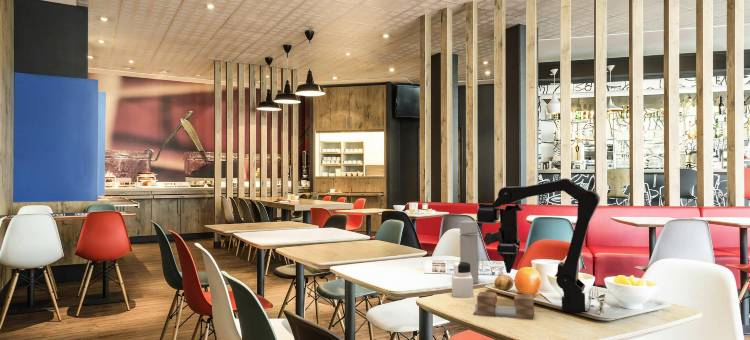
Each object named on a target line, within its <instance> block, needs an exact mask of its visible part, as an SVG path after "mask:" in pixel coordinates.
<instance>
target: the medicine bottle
mask: <svg viewBox="0 0 750 340" xmlns="http://www.w3.org/2000/svg"><path fill="white" fill-rule="evenodd" d="M451 275H452V276H451V288H452V289H451V291H452V293H451V294H452V296H453V298H473V297H474V284H473V278H472V275H471V273H470V264H469V263H467V262H460V261H456V262H455V263H453V273H452V274H451Z"/></svg>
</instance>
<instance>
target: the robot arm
mask: <svg viewBox="0 0 750 340" xmlns="http://www.w3.org/2000/svg"><path fill="white" fill-rule="evenodd" d="M557 192H564V193H566V194H567V195H568V196H570V197H572V199H574V200H576V201H577V212H576V213H577V215H576V216H577V218H576V222H575V226H574V229H573V232H572V236H571V240H570V244H569V246H568V247H569V248H568V250H567V255H566V258H565V261H564V262H563V261H560V262H559V263H558V264H557V271H556V274H555V275H554V277H555V278H556V279H555V280H556V284H557V286H558V287H559V288H560V289H562V292H563V296H561V311H562V312H568V313H571V314H572V313H573V314H580V313H581V312H585V313H586V293H585V292H584V291H585V288H586V285H585V283H584V282H583V281H581V279H579V273H580V272H579V271H580V268H579V267H580V266H579V265H580V263H579V261H580V258H581V254H582V252H583V251H582V250H583V247H584V244H585V242H586V241H585V239H586V237H587V233H588V230H589V227H590V222H591V220H592V217H593V216H594V214H595V212H596V210H597V208H598V206H599V204H600V201H601V197H600V195H599V194H598V192H596V191H594V190H587V189H586V188H584V187H583V186H580V185H578V184H577V183H575V182H574V181H572V180H571V179H570V178H561V179H558V180H554V181H548V182H543V183H537V184H532V185H527V186H526V185H525V186H523V185H522V186H518V185H517V186H516V185H515V186H505V187H502V188H500V190H499V191H498V193H497V198H496V199H495V200H494V202H493V203H478V208H477V213H476V220H477V224H496V223H497V222H498V221H499V228H498V230H497V231H494V232H491V231H489V232H486V233H485V235H483V236H482V240H483V242H484V244H485V246H486V247H487V246H490V245H491V244H494V243H497V242H498V245H497V246H496V253H497V254H498V255H499V256H501V257H502V259H503V263H504V268H505V271H506V273H507V274H511V272H512V269H513V267H514V265H515V262H516V259H517V257H518V253H519V252H520V248H521V239H520V238H519V233H518V232H519V224H518V219H519V218H518V212H521V211H524V208H523V207H522V206H521V204H520V203H516V202H519V201H522V200H524V199H528V198H530V197H531V198H532V197H535V196H541V195H547V194H552V193H557ZM514 203H516V204H515V205H511V204H514ZM504 206H505V208H502V207H504ZM500 207H501V208H500ZM581 314H582V313H581Z"/></svg>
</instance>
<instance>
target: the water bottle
mask: <svg viewBox="0 0 750 340" xmlns="http://www.w3.org/2000/svg"><path fill="white" fill-rule="evenodd" d="M478 229H479V228H478V221H476V220H462V221H460V227H459V234H460V235H459V254H460V255H459V258H460V261H459V262H467V263H469V264H470V273H471V275H472V278H473V285H474V284H478V283H479V271H480V272H483V269H484V265H482V268H481V269H480V268H479V267H480V262H479V249H482V248H481V244H479V241H481V239H480V237H481V233H478V232H479V230H478ZM480 254H481V256H483V254H482V252H480ZM481 262H482V264H484V262H483V259H481Z"/></svg>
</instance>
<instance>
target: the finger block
mask: <svg viewBox="0 0 750 340" xmlns="http://www.w3.org/2000/svg"><path fill="white" fill-rule="evenodd" d="M476 301H477V302H476V304H477V315H476V316H478V315H481V316H480V317H491V316H494V306H495V305H496V306H497V302H498V294H497V293H496V292H493V291H492V292H491V291H479V292H478V293H477V295H476Z"/></svg>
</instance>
